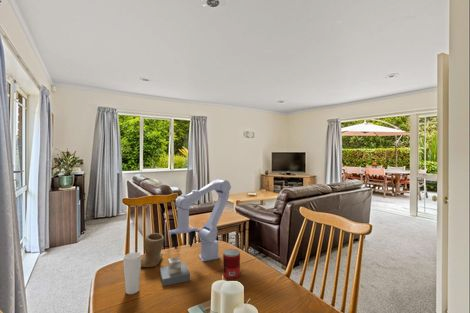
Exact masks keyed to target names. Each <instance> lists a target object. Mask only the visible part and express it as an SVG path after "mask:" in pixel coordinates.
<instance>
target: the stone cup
mask: <svg viewBox="0 0 470 313" xmlns="http://www.w3.org/2000/svg"><path fill="white" fill-rule="evenodd" d="M144 240H145V241H144V246H143V247H144V252H145V254H144V255H143V257H141V268H151V267H156V266H157V265H158V264H159V263H160V261H161V260H162V258H163V256H164V255H163V253H162V250H163V245H164V242H165V237H164V235H163V234H161V233H158V232H153V233H150V234H148V235H146V237H145V238H144Z"/></svg>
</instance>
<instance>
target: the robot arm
mask: <svg viewBox="0 0 470 313" xmlns="http://www.w3.org/2000/svg"><path fill="white" fill-rule="evenodd" d="M231 188H232V185H231V182H230V181H229V180H226V179H219V178H216V179H214V180H212V181H211V182H210V183H208V184H206V185H205V186H202V188H200V189H199V190H198V189H192V190H191V192H189V193H188V194H184V195H183V196H180V197H178V198H177V199H176V200H175V206H176V208H177V228H175V229H169V230H168V236H171V238H172V241H173V245H174V249H175V250H177V249H178V244H177V241H178V240H177V239H178V236H177V235H178V234H179V235H180V234H186V233H188V234H189V246H190V248H191V247H193V243H194V239H195V238H196V235H197V232H198V237H199V239H200V254H199V255H198V257H199V258H200V260H201V262H207V261H213V260H218V259H220V254H219V252H220V251H219V250H220V245H219V242H218V240H217V237H218V235H217V234H218V228H217V226H218V223H219V222H220V218H221V216H222V214H223V212H224V209H225V208H226V205H227V203H228V200H229V197H230V191H231ZM212 191H215V192H216V194H217V195H218V196H217V197H218V198H217V200H216V203H215V205H214V206H213V209H212V212H211V213H210V216H209V218H208V220H207V222H206V223H204V224H203V226H202V227H201V228H200V229H199V230H198V227H197V226H196V227H195V226H193V227H190V208H191V206H192V205H194V204H195V203H197V202H198V201H200V200H201V199H202V196H205V195H207V194H208V193H211V192H212Z"/></svg>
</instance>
